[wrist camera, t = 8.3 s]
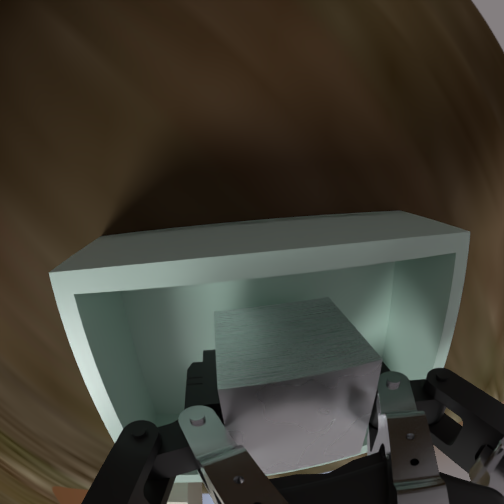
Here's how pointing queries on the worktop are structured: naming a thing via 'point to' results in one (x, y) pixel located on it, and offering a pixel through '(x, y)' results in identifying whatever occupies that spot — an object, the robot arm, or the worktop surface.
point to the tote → (251, 298)
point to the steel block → (294, 382)
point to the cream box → (186, 493)
